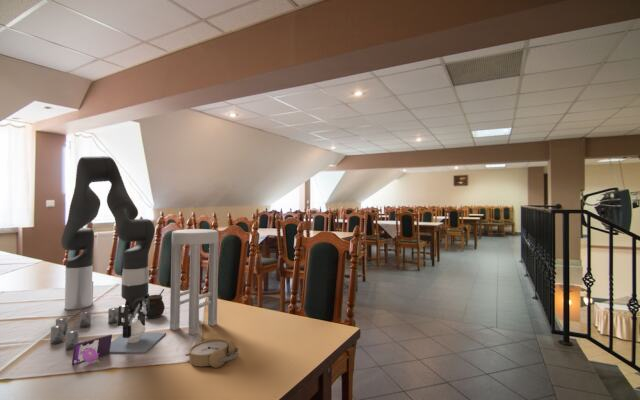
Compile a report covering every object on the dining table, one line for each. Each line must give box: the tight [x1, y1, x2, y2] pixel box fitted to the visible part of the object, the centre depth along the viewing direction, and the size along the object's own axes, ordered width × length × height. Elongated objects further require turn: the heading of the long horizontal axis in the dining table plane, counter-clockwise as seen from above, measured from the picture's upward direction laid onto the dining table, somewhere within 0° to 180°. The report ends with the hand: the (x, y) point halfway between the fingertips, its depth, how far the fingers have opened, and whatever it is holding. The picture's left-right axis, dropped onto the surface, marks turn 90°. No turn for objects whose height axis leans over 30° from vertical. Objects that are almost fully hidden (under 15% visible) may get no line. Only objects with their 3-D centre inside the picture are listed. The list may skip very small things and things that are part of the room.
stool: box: [169, 228, 220, 336], centre depth 118 cm, size 16×16×35 cm
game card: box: [71, 334, 113, 366], centre depth 91 cm, size 7×5×9 cm
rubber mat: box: [109, 332, 167, 354], centre depth 103 cm, size 14×14×1 cm
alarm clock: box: [184, 338, 239, 369], centre depth 94 cm, size 11×5×15 cm
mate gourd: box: [145, 288, 166, 319], centre depth 127 cm, size 7×8×10 cm
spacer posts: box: [50, 307, 131, 351], centre depth 110 cm, size 24×22×5 cm
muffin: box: [126, 318, 146, 343], centre depth 104 cm, size 6×6×7 cm
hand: (134, 331), depth 103 cm, fingers open, 8 cm apart
